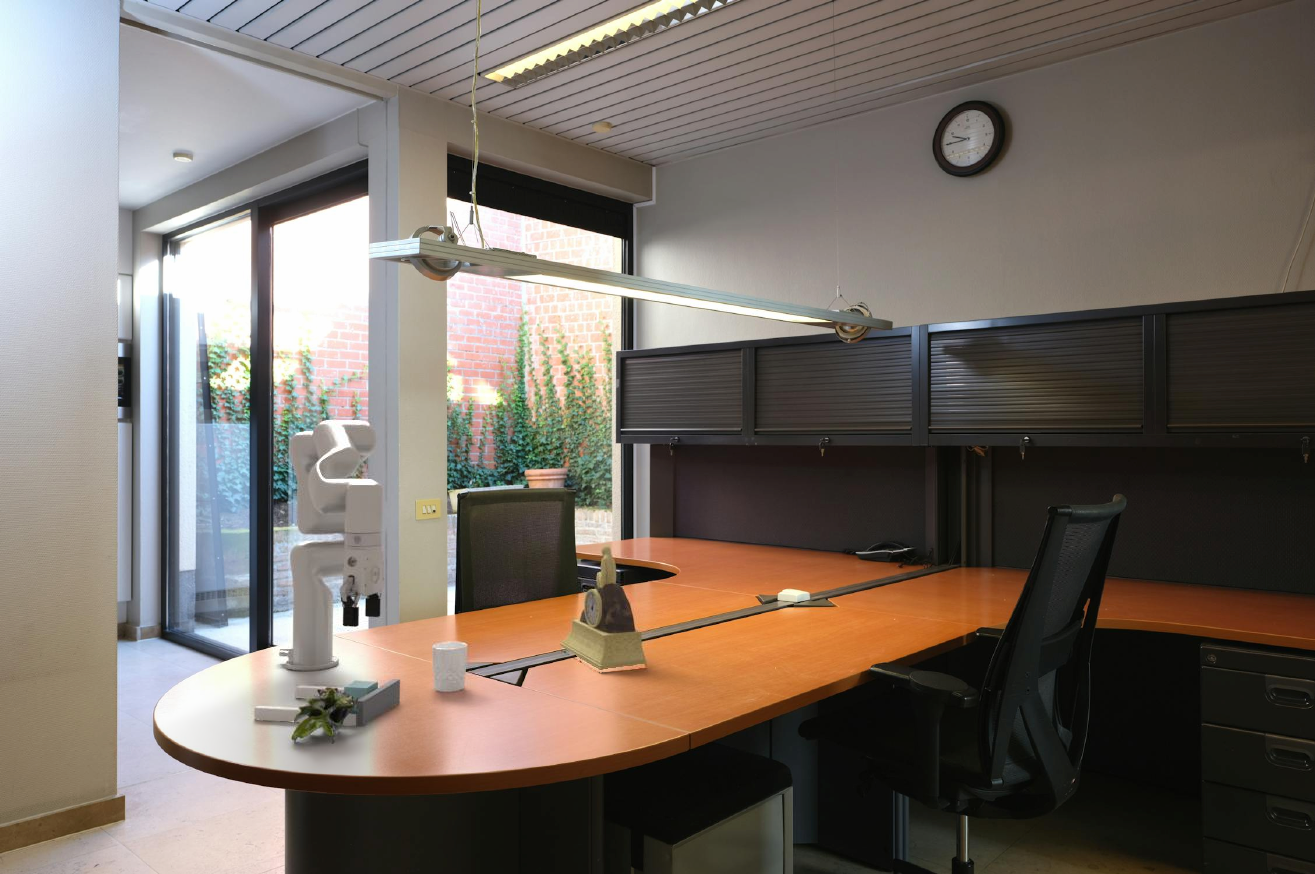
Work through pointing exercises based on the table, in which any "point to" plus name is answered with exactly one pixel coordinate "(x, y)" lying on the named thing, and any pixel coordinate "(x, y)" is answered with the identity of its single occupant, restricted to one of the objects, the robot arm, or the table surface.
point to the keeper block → (360, 688)
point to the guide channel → (367, 705)
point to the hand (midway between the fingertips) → (361, 621)
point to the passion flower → (325, 713)
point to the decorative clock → (606, 624)
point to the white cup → (449, 666)
